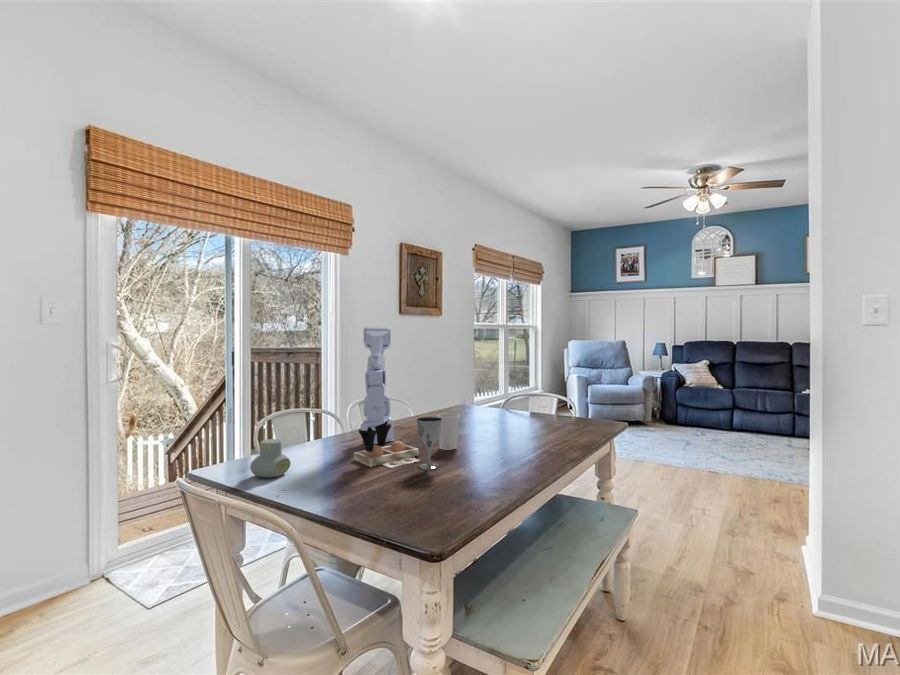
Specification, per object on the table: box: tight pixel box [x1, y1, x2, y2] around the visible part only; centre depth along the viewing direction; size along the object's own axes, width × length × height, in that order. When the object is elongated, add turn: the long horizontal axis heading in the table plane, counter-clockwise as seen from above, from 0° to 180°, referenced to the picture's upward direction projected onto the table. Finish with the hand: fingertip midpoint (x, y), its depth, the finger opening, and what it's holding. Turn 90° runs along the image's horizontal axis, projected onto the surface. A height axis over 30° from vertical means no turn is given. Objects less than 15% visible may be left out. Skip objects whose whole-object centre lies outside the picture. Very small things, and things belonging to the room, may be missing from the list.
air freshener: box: [249, 438, 291, 479], centre depth 138 cm, size 11×8×10 cm
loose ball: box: [368, 444, 383, 458], centre depth 154 cm, size 5×5×5 cm
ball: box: [390, 440, 406, 453], centre depth 160 cm, size 5×5×5 cm
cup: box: [436, 412, 461, 450], centre depth 171 cm, size 8×8×12 cm
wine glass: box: [416, 416, 442, 470], centre depth 148 cm, size 8×8×15 cm
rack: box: [353, 444, 422, 469], centre depth 155 cm, size 19×16×2 cm
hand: (375, 448), depth 154 cm, fingers open, 7 cm apart
